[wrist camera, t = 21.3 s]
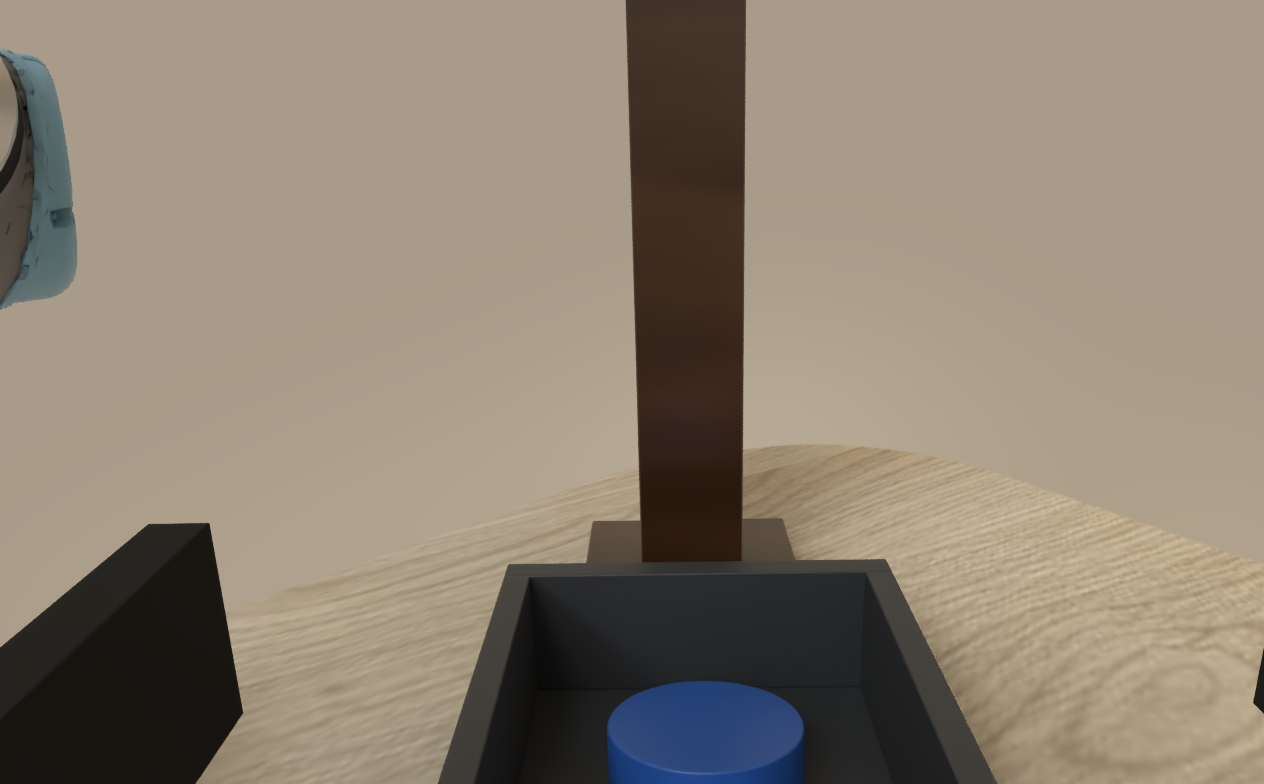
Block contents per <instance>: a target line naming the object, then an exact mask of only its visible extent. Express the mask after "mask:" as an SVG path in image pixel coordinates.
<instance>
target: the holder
mask: <svg viewBox="0 0 1264 784" xmlns="http://www.w3.org/2000/svg"><path fill="white" fill-rule="evenodd" d="M689 681H719V682H729V683H737V684H742V685H747V686H751V687H755V688H758V689H761V690H764V691H767V692H770V693H772V694H774V695H776V696H778V697H780V698H782V699H784V700H785V701H787V702H788V703H789V704H791V705H792V706H793V707H794V708H795V709H796V710H797V711H798V713H799V714H800V716H801V718H802V720H803V722H804V727H805V784H997V783H996V781H995V779H994V777H993V775H992V773H991V770H990V768H989V766H988V764H987V762H986V760H985V758H984V756H983V754H982V752H981V750H980V748H979V746H978V744H977V742H976V740H975V738H974V736H973V734H972V732H971V730H970V728H969V726H968V724H967V722H966V720H965V718H964V716H963V714H962V712H961V710H960V708H959V706H958V704H957V702H956V700H955V698H954V696H953V694H952V692H951V690H950V688H949V686H948V684H947V682H946V680H945V678H944V676H943V674H942V672H941V670H940V668H939V666H938V664H937V662H936V660H935V658H934V656H933V654H932V652H931V650H930V648H929V646H928V644H927V642H926V640H925V638H924V636H923V634H922V632H921V630H920V628H919V626H918V624H917V622H916V620H915V618H914V616H913V614H912V611H911V609H910V607H909V605H908V603H907V601H906V599H905V597H904V595H903V593H902V591H901V589H900V587H899V585H898V583H897V581H896V579H895V577H894V575H893V573H892V571H891V569H890V567H889V565H888V563H887V561H886V560H885V559H871V560H797V561H723V562H649V563H575V564H509V565H508V567H507V570H506V573H505V577H504V580H503V583H502V586H501V589H500V592H499V595H498V598H497V601H496V605H495V608H494V611H493V614H492V617H491V620H490V623H489V626H488V629H487V633H486V636H485V639H484V642H483V645H482V648H481V651H480V654H479V657H478V661H477V664H476V667H475V670H474V673H473V676H472V679H471V682H470V685H469V688H468V692H467V695H466V698H465V701H464V704H463V707H462V710H461V713H460V716H459V720H458V723H457V726H456V729H455V732H454V735H453V738H452V741H451V744H450V748H449V751H448V754H447V757H446V760H445V763H444V766H443V769H442V772H441V775H440V779H439V782H438V784H609V770H608V743H607V724H608V720H609V718H610V716H611V714H612V712H613V711H614V710H615V709H616V707H617V706H619V705H620V704H621V703H622V702H623V701H625V700H626V699H628V698H630V697H631V696H633V695H635V694H637V693H640V692H642V691H645V690H648V689H651V688H654V687H658V686H662V685H667V684H673V683H679V682H689Z"/></svg>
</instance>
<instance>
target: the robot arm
mask: <svg viewBox="0 0 1264 784" xmlns="http://www.w3.org/2000/svg"><path fill="white" fill-rule="evenodd" d="M72 207H73V201H72V183H71V175H70V168H69V160H68V153H67V146H66V141H65V134H64V129H63V122H62V117H61V112H60V108H59V102H58V97H57V93H56V89H55V86H54V82H53V79H52V77H51V75H50V73H49V71H48V69H47V68H46V66H45V65H44V64H43V63H42V62H41V61H40V60H39V59H37V58H35V57H33V56H29V55H22V54H14V53H12V52H11V51H7V50H4V49H0V309H2V308H7V307H8V306H11V305H12V304H13V303H18V302H24V301H32V300H39V299H45V298H51V297H54V296H56V295H58V294H60V293H62V292H63V291H65V290H66V289H67V288H68V287H69V286H70V284H71V283H72V281H73V279H74V276H75V273H76V267H77V238H76V227H75V220H74V214H73V212H72ZM1253 703H1254V704H1255V705H1256V706H1257V707H1258V708H1259V709H1260V710H1261V711H1262V712H1263V713H1264V650H1263V655H1262V660H1261V665H1260V670H1259V675H1258V680H1257V686H1256V691H1255V696H1254V701H1253ZM242 714H243V710H242V704H241V698H240V693H239V687H238V682H237V676H236V670H235V665H234V659H233V654H232V648H231V642H230V637H229V631H228V625H227V620H226V614H225V609H224V604H223V598H222V592H221V586H220V581H219V575H218V569H217V564H216V558H215V552H214V547H213V542H212V536H211V530H210V524H209V523H188V524H187V523H185V524H148V525H147V526H146V527H144V528H143V529H142V530H141V531H140V532H138V533H137V534H136V535H135V536H134V537H132V538H131V539H130V540H129V541H128V542H127V543H125V544H124V545H123V546H122V547H120V548H119V549H118V550H117V551H116V552H114V553H113V554H112V555H111V556H110V557H108V558H107V559H106V560H105V561H104V562H102V563H101V564H100V565H99V566H98V567H97V568H95V569H94V570H93V571H92V572H91V573H89V574H88V575H87V576H86V577H84V578H83V579H82V580H81V581H80V582H78V583H77V584H76V585H75V586H74V587H72V588H71V589H70V590H69V591H68V592H66V593H65V594H64V595H63V596H62V597H60V599H58V600H57V601H56V602H54V603H53V604H52V605H51V606H50V607H48V608H47V609H46V610H45V611H44V612H42V613H41V614H40V615H39V616H38V617H36V619H34V620H33V621H32V622H30V623H29V624H28V625H27V626H26V627H24V628H23V629H22V630H21V631H20V632H18V633H17V634H16V635H15V636H14V637H12V638H11V639H10V640H9V641H8V642H6V643H5V644H4V645H3V646H2V647H0V784H196V782H197V781H198V779H199V778H200V776H201V775H202V773H203V772H204V770H205V769H206V767H207V766H208V764H209V763H210V761H211V760H212V758H213V757H214V756H215V754H216V753H217V751H218V750H219V748H220V747H221V745H222V744H223V742H224V741H225V739H226V738H227V736H228V735H229V733H230V732H231V730H232V729H233V727H234V726H235V724H236V723H237V721H238V720H239V718H240V717H241V715H242Z"/></svg>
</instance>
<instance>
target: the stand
mask: <svg viewBox="0 0 1264 784" xmlns="http://www.w3.org/2000/svg"><path fill="white" fill-rule="evenodd" d="M626 28H627V62H628V98H629V128H630V129H629V131H630V132H629V133H630V168H631V200H632V201H631V203H632V236H633V237H632V239H633V272H634V306H635V307H634V308H635V342H636V343H635V344H636V379H637V414H638V450H639V485H640V520H641V521H594V522H593V523H592V529H591V535H590V542H589V548H588V555H587V561H586V563H649V562H723V561H795V559H794V556H793V552H792V549H791V545H790V542H789V539H788V535H787V532H786V529H785V525H784V522H783V519H742V500H743V354H744V353H743V351H744V350H743V349H744V346H743V345H744V343H743V342H744V337H743V336H744V205H745V202H744V201H745V200H744V199H745V196H744V195H745V191H744V190H745V61H746V51H745V50H746V0H626Z"/></svg>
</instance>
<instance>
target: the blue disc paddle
mask: <svg viewBox="0 0 1264 784" xmlns="http://www.w3.org/2000/svg"><path fill="white" fill-rule="evenodd" d="M607 743H608V770H609V784H805V727H804V722H803V720H802V718H801V716H800V714H799V713H798V711H797V710H796V709H795V708H794V707H793V706H792V705H791V704H789V703H788V702H787V701H785V700H784V699H782V698H780V697H778V696H776V695H774V694H772V693H770V692H767V691H764V690H761V689H758V688H755V687H751V686H747V685H742V684H737V683H729V682H719V681H689V682H679V683H673V684H667V685H662V686H658V687H654V688H651V689H648V690H645V691H642V692H640V693H637V694H635V695H633V696H631V697H630V698H628V699H626V700H625V701H623V702H622V703H621V704H620V705H619V706H617V707H616V709H615V710H614V711H613V712H612V714H611V716H610V718H609V720H608V724H607Z"/></svg>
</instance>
